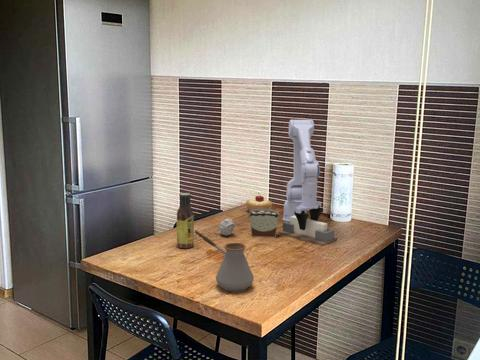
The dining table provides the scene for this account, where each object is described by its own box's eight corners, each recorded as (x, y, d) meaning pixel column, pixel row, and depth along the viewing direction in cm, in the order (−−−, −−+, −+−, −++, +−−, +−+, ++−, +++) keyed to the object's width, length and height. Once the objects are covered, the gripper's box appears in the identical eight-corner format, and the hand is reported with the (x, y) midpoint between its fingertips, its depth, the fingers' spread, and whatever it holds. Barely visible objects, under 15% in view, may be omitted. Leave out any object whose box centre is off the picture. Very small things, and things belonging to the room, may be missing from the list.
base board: (279, 233, 213) (279, 231, 212) (294, 228, 220) (294, 226, 220) (322, 245, 199) (322, 243, 199) (337, 239, 206) (337, 237, 206)
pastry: (250, 216, 238) (250, 196, 236) (242, 209, 249) (243, 190, 247) (275, 214, 241) (276, 195, 239) (267, 207, 252) (267, 189, 250)
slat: (289, 231, 213) (289, 216, 212) (293, 229, 215) (293, 215, 214) (323, 239, 203) (323, 224, 202) (326, 238, 205) (327, 223, 204)
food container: (279, 233, 214) (280, 208, 212) (279, 237, 208) (280, 213, 206) (249, 231, 215) (249, 207, 213) (248, 236, 209) (248, 211, 207)
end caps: (282, 230, 214) (282, 222, 213) (291, 227, 218) (291, 219, 217) (325, 242, 200) (325, 233, 200) (334, 238, 205) (334, 229, 204)
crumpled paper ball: (225, 239, 205) (225, 221, 204) (215, 234, 211) (215, 217, 210) (238, 236, 209) (238, 219, 208) (228, 231, 214) (228, 215, 213)
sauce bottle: (191, 249, 193) (190, 196, 189) (174, 248, 194) (173, 195, 190) (196, 244, 199) (195, 192, 195) (180, 242, 201) (179, 191, 196)
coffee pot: (260, 284, 163) (261, 237, 160) (239, 297, 153) (240, 248, 150) (205, 269, 174) (205, 225, 171) (182, 281, 165) (182, 234, 162)
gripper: (306, 198, 198) (305, 233, 201) (328, 192, 208) (326, 225, 211) (291, 195, 202) (290, 229, 205) (313, 189, 213) (312, 222, 216)
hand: (308, 227), depth 209 cm, fingers open, 7 cm apart
